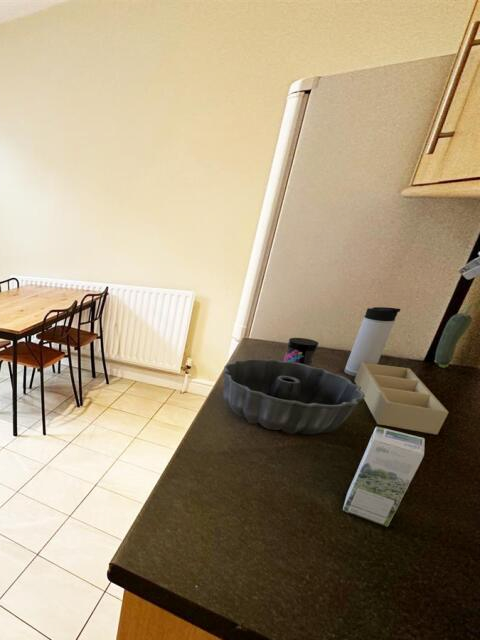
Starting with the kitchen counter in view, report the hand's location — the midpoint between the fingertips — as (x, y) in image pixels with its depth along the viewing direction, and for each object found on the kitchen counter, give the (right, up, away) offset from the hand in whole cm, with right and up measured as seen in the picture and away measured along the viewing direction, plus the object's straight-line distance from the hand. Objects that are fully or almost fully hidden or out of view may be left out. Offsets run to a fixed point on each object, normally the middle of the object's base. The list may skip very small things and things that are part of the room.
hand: (462, 274), depth 102 cm
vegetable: (+19, -22, +22) cm, 36 cm away
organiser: (-17, -32, +1) cm, 36 cm away
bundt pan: (-48, -35, -3) cm, 60 cm away
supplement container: (-27, -25, +19) cm, 41 cm away
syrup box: (-56, -49, -33) cm, 81 cm away
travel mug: (-9, -24, +18) cm, 32 cm away
